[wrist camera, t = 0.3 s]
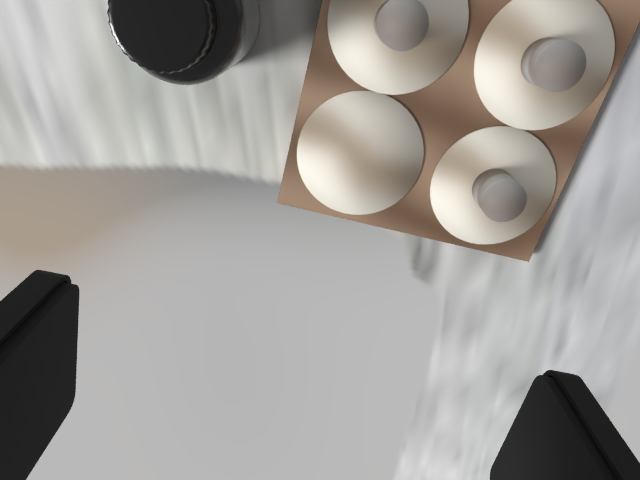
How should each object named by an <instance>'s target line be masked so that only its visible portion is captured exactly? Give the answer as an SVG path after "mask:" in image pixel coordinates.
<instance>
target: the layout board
mask: <svg viewBox="0 0 640 480" xmlns="http://www.w3.org/2000/svg"><path fill="white" fill-rule="evenodd" d="M639 22H640V0H322V4H321V9H320V13H319V18H318V22H317V27H316V31H315V36H314V40H313V44H312V49H311V53H310V58H309V62H308V67H307V71H306V76H305V80H304V85H303V89H302V94H301V98H300V103H299V107H298V112H297V116H296V121H295V125H294V130H293V134H292V138H291V143H290V147H289V152H288V156H287V161H286V165H285V170H284V174H283V179H282V183H281V188H280V192H279V197H278V201H277V203H280V204H283V205H288V206H292V207H296V208H301V209H305V210H309V211H314V212H318V213H322V214H326V215H331V216H335V217H340V218H343V219H348V220H352V221H356V222H361V223H365V224H369V225H373V226H378V227H382V228H386V229H391V230H395V231H399V232H403V233H408V234H412V235H416V236H421V237H425V238H429V239H433V240H438V241H442V242H446V243H451V244H455V245H459V246H463V247H468V248H472V249H476V250H481V251H485V252H489V253H494V254H498V255H502V256H506V257H511V258H515V259H519V260H524V261H528V262H529V260H530V258H531V256H532V254H533V251H534V249H535V247H536V245H537V243H538V241H539V238H540V236H541V234H542V232H543V230H544V228H545V225H546V223H547V221H548V219H549V217H550V215H551V212H552V210H553V208H554V206H555V204H556V202H557V200H558V197H559V195H560V193H561V191H562V189H563V187H564V184H565V182H566V180H567V178H568V176H569V174H570V171H571V169H572V167H573V165H574V163H575V161H576V159H577V156H578V154H579V152H580V150H581V148H582V146H583V143H584V141H585V139H586V137H587V135H588V133H589V130H590V128H591V126H592V124H593V122H594V120H595V117H596V115H597V113H598V111H599V109H600V107H601V105H602V102H603V100H604V98H605V96H606V94H607V92H608V89H609V87H610V85H611V83H612V81H613V79H614V76H615V74H616V72H617V70H618V68H619V66H620V63H621V61H622V59H623V57H624V55H625V53H626V51H627V48H628V46H629V44H630V42H631V40H632V38H633V35H634V33H635V31H636V29H637V27H638V25H639Z"/></svg>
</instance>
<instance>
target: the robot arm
mask: <svg viewBox="0 0 640 480" xmlns="http://www.w3.org/2000/svg"><path fill="white" fill-rule="evenodd" d="M78 312H79V287H78V286H77V285H74V284H71V279H70V277H69V276H68V275H62V274H58V273H53V272H47V271H42V270H36V271H34V272H33V273H32V274H30V275H29V276H28V277H27V278H26V279H25V280H24V281H23V282H22V283H20V284H19V285H18V286H17V287H16V288H15V289H14V290H13V291H11V292H10V293H9V294H8V295H7V296H6V297H5V298H4V299H3V300H2V301H0V480H26V478H27V477H28V475H29V474H30V472H31V471H32V469H33V467H34V466H35V464H36V463H37V461H38V460H39V458H40V457H41V455H42V453H43V452H44V450H45V449H46V447H47V446H48V444H49V442H50V441H51V439H52V438H53V436H54V435H55V433H56V432H57V430H58V429H59V427H60V425H61V424H62V422H63V421H64V419H65V418H66V416H67V414H68V413H69V411H70V409H71V407H72V404H73V401H74V397H75V389H76V364H77V362H76V361H77V338H78ZM490 480H640V463H639V462H638V460H637V459H636V457H635V456H634V454H633V453H632V451H631V450H630V448H629V447H628V446H627V444H626V443H625V441H624V440H623V439H622V437H621V436H620V434H619V432H618V431H617V430H616V428H615V427H614V425H613V424H612V422H611V421H610V419H609V418H608V416H607V415H606V414H605V412H604V411H603V409H602V408H601V406H600V405H599V403H598V402H597V401H596V399H595V398H594V396H593V395H592V393H591V392H590V390H589V389H588V387H587V386H586V385H585V383H584V382H583V380H582V379H581V378H580V377H579V376H577V375H574V374H569V373H564V372H559V371H554V370H548V371H546V372H545V373H544V374H543V375H539V376H537V377H536V378H535V379H534V381H533V383H532V385H531V387H530V389H529V391H528V393H527V395H526V398H525V400H524V402H523V404H522V406H521V408H520V410H519V412H518V414H517V416H516V418H515V420H514V422H513V424H512V426H511V428H510V430H509V433H508V435H507V437H506V439H505V441H504V443H503V445H502V447H501V449H500V451H499V453H498V455H497V457H496V459H495V461H494V463H493V465H492V468H491V472H490Z"/></svg>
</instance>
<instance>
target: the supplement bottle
mask: <svg viewBox="0 0 640 480" xmlns="http://www.w3.org/2000/svg"><path fill="white" fill-rule="evenodd" d="M108 5H109V9H108V12H107V13H108V16H109V25H110V27H111V28H112V35H113V36H114V37H115V39H116V43H117V45H118V46H120V47H121V48H122V51H123V53H124V54H126V55H128V56H129V58H130V59H131V61H134V62H136V63H137V64H138V65H139V66H140V67H141V68H143V69H144V70H145V71H146V72H148V73H149V74H151V75H153V76H154V77H156V78H158V79H160V80H163V81H166V82H169V83H173V84H179V85H193V84H199V83H203V82H206V81H209V80H211V79H213V78H215V77H217V76H218V75H220V74H221V73H223V72H224V71H226V70H227V69H229V68H230V67H232V66H233V65H235V64H236V63H238V62H239V61H240V60H241V59H242V58H243V57H245V56H246V54H247V53H248V52H249V51H250V49H251V48H252V46H253V44H254V42H255V40H256V37H257V34H258V29H259V19H260V17H259V7H258V3H257V0H108Z"/></svg>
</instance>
